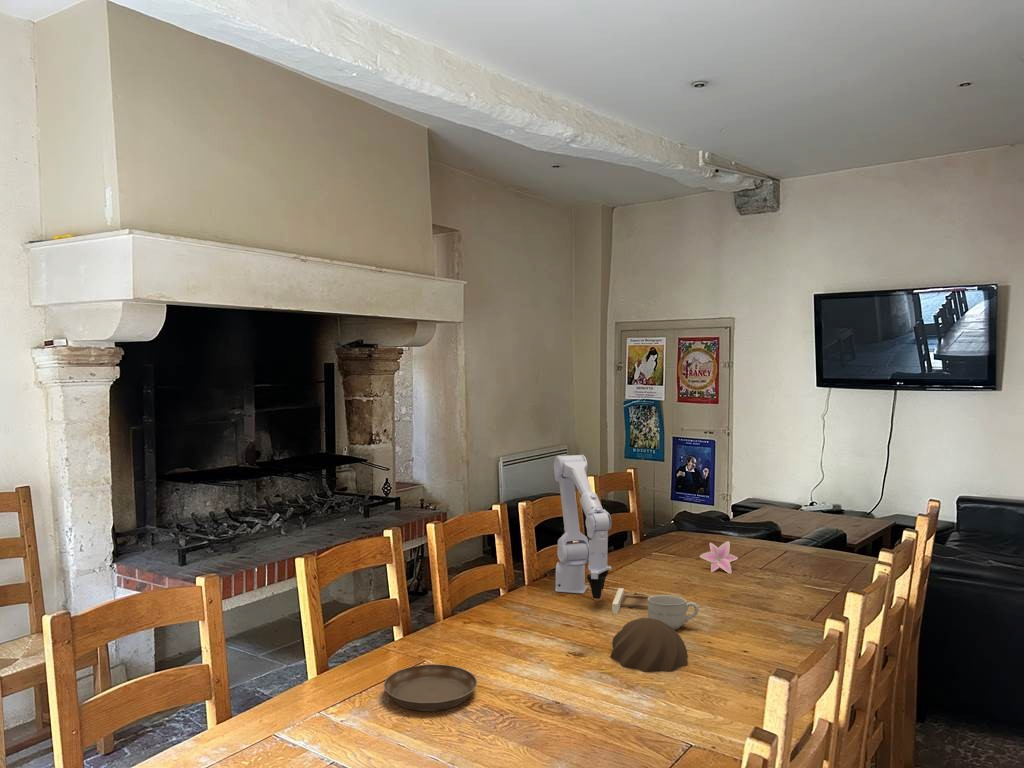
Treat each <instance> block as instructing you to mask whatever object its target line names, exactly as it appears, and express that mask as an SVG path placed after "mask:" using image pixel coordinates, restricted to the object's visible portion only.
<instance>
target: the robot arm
mask: <svg viewBox="0 0 1024 768" xmlns="http://www.w3.org/2000/svg"><path fill="white" fill-rule="evenodd" d="M553 471H554V472H553V473H554V474H553V475H554V478H555V479H554V480H555V482H557V483H559V490H560V491H559V492H560V499H561V501H560V502H561V511H562V518H563V525H564V526H563V527H564V533H562V535H561V537H559V538H558V540H557V550H556V552H557V557H558V560H559V561H557V562H556V565H555V589H554V591H555V592H557V593H569V594H582V595H584V594H585V593H586V590H587V589H588V585H586V579H587V581H588V584H589V586H590V589H591V590H590V591H591V592H592V596H593V598H596V599H600V597H601V591H602V590H603V591H604V588H605V582H606V579H607V578H606V577H607V576H608V574H609V571H611V570H612V566H611V565H608V549H609V548H608V545H609V544H608V543H609V542H608V541H609V536H608V535H609V532H608V531H610V530H611V528H612V518H611V514H610V513H609V512H608V511H607V510H606V509H605V508H604V509H603V506H602V503H601V502H600V499H599V497H598V494H597V493H595V492H593V491H592V488H591V484H590V481H589V478H588V475H587V471H588V459H587V458H586V456H585V455H584V454H578V455H577V454H576V455H575V454H573V455H572V454H571V455H556V457H555V458H554V462H553ZM575 486H576V488H577V490H578V492H579V494H580V495H581V497H580V499H579V503H580V505H581V507H582V511H583V514H584V515H585V517H586V518H585V527H586V534H587V535H585V534H583V533H582V532H581V530H580V522H579V519H580V518H579V511H578V504H577V496H576V488H575ZM587 563H588V565H587V569H588V571H589V574H586V564H587ZM592 596H591V597H592ZM593 598H592V599H593Z"/></svg>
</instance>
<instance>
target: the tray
mask: <svg viewBox="0 0 1024 768" xmlns="http://www.w3.org/2000/svg"><path fill="white" fill-rule="evenodd" d="M649 597H650V596H645V595H635V594H624V596H623V598H622V601H621V607H628V608H627V609H633V608H639V609H638V610H644V609H648V598H649ZM621 607H620V608H621Z"/></svg>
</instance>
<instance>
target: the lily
mask: <svg viewBox="0 0 1024 768" xmlns="http://www.w3.org/2000/svg"><path fill="white" fill-rule="evenodd" d="M730 543H731V542H730V541H728V540H727V541H725V542H723V543H722V544H721V545H720V546H719V547H718V546H716V545H715V544H714V543H713V542H709V548H710V551H707V552H704V553H702V554H700V555H699V558H701V559H703V560H705V561H707V562H709V563H711V565H710V572H711V573H713V572H715V571H717V570H718V569H719V568H720V569H721V570H724V571H725V572H727V573H728V574H732V566H731V563H730V562H733V561H736V560H738V557H737V556H736V555H733V554H731V553H730V549H731V546H730V545H731V544H730Z"/></svg>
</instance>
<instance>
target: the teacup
mask: <svg viewBox="0 0 1024 768" xmlns="http://www.w3.org/2000/svg"><path fill="white" fill-rule="evenodd" d="M648 597H649V598H648V610H647V614H648V618H652V619H657V620H660V621H662V622H664V623H665V624H667V625H668V626H670V627H671V628H672V629H674V630H675V631H676V630H678V629H679V628H681V627H682V626H683V625H684V624H685V623H687V622H689V620H691V619H693V618H695V617H696V616H697V615H698V613H699V606H698V604H697V603H696V602H694V601H688V602H687V600H686V599H685V598H684V597H681V596H676V595H671V594H656V595H651V596H648ZM689 607H694V612H693V613H692V614H690V615H687V611H688V609H689Z"/></svg>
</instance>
